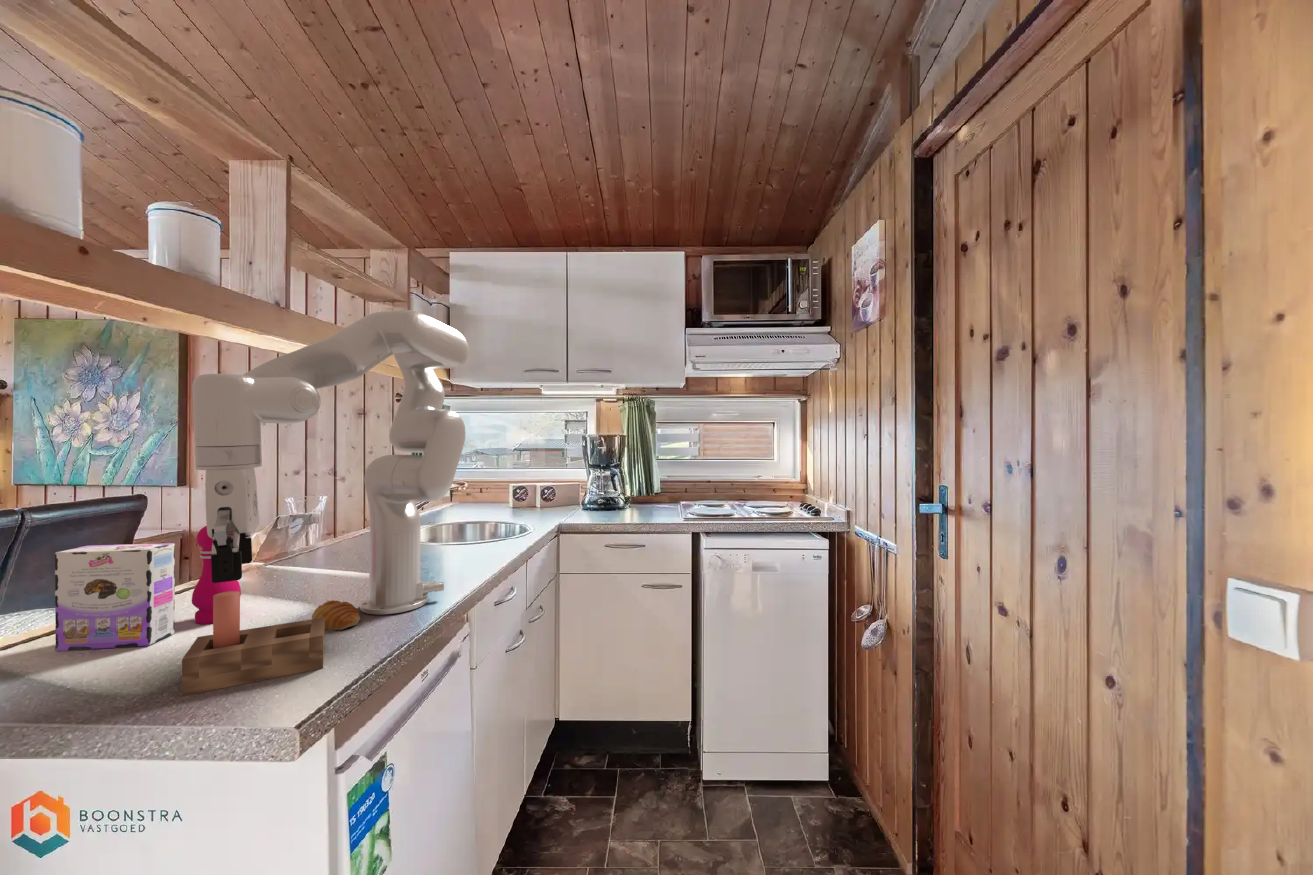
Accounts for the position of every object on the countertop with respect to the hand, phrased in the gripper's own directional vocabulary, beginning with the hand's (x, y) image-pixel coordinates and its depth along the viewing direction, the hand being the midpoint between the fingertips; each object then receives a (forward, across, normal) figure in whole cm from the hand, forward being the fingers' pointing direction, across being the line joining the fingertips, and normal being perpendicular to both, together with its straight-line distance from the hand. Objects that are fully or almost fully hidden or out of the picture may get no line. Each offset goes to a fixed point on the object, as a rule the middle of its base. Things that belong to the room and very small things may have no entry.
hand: (233, 571), depth 75 cm
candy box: (+15, +24, +19) cm, 34 cm away
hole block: (+15, -1, -3) cm, 16 cm away
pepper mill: (+16, +30, +7) cm, 35 cm away
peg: (+13, -1, +1) cm, 13 cm away
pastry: (+16, +16, -13) cm, 26 cm away
